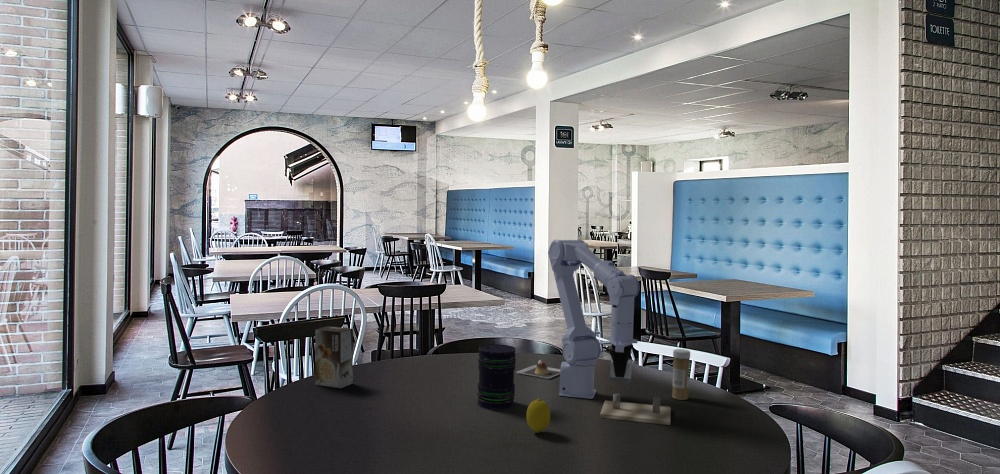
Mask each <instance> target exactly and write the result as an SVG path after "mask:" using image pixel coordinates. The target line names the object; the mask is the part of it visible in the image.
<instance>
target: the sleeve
mask: <svg viewBox="0 0 1000 474" xmlns="http://www.w3.org/2000/svg"><path fill="white" fill-rule="evenodd" d="M632 361H633V360H632V359H630V358H629V359H628V361H627V365H626V371H625V375H624V378H621V377H616V376H615V372H614V365H613V360H612V359H611V361H610V373H609V374H610V376H609V379H610V381H609V382H611V383H619V384H620V383H621V384H631V381H632V363H633V362H632Z"/></svg>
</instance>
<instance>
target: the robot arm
mask: <svg viewBox="0 0 1000 474" xmlns="http://www.w3.org/2000/svg"><path fill="white" fill-rule="evenodd" d="M547 255H548V258H549V263H550V266H551V270H552V272H553V276H554V280H555V284H556V289H557V292H558V296H559V300H560V304H561V309H562V312H563V316H564V320H565V326H566V329H567V331H566V332H565V334H564V335H562V338H561V343H562V351H561V352H562V356H563V358H564V360H565V361H562V362H561V365H560V368H559V369H560V372H559V373H560V374H559V391H558V392H559V394H558V396H560V397H570V398H581V399H588V400H589V399H590V400H591V399H594V398H595V395H596V393H597V390H596V389H595V388H594V387H595V385H594V384H595V383H594V382H595V364H597V362H598V361H597V360H598V359H600V357H601V355H602V345H601V343H600V341H599V340H598V337H597V336H596V332H595V331H594V330H592V329H591V328H590V327H588V326H587V323H586V320H585V317H584V313H583V308H582V305H581V301H580V297H579V293H578V289H577V285H576V282H575V277H574V274H575V272H576V271H577V270H579V268H580V266H581V265H582V264H583V265H584V266H586V267H587V268H589V269H590V270H591V271H592V272H593V276H594V278H595V279H596V280H598V282H599V283H600V284H602V285H603V286H604V287H605V288H606V292H607V294H608V296H609V303H610V305H611V308H610V309H611V311H610V314H611V315H610V337H609V343H610V346H611V348H610V347H609V349H608V353H609V355H610V357H611V360H613V365H614V372H615V376H616V377H621V378H624V375H625V371H626V365H627V361H628V359H630V357H631V354H632V349H633V348H634V344H638V339H635V338H634V319H635V318H634V315H635V298H636V297H637V296H638V295H639V292H640V290H641V289H640V282H639V280H638V278H637V277H636V276H635V275H633V274H628V275H627V274H625V273H624V271H623V270H622V269H621V270H620V269H619V268H618V267H617V266H616V265H614V262H613V261H612V260H601V259H600V258H599V256H597V255H596V254H595V253H594V251H592V250H591V249H590V248H589V244H588V242H585V241H584V240H583V239H570V240H569V239H553V240H552V241H551V243H550V246H549V248H548V250H547Z"/></svg>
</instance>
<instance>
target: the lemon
mask: <svg viewBox="0 0 1000 474" xmlns="http://www.w3.org/2000/svg"><path fill="white" fill-rule="evenodd" d="M525 417H526V423H527V425H528V427H529V428H530V429H532V430H534V432H536V433H537V434H539V433H541V431H544V430H545V429H546V428H548V426H549V425H550V422H551V409H550V407H549V404H547V402H546V401H544V400H542V399H541V398H537V399H535V400H533V401H531V402H530V404H529V405H528V407H527V410H526V416H525Z"/></svg>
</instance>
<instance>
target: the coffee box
mask: <svg viewBox="0 0 1000 474" xmlns="http://www.w3.org/2000/svg"><path fill="white" fill-rule="evenodd" d="M314 335H315V336H314V337H315V339H314V340H315V345H314V346H315V347H314V348H315V351H314V352H315V353H314V356H315V359H314V361H315V363H314V364H315V365H314V368H315V369H314V370H315V371H314V372H315V374H314V375H315V378H314V379H315V380H314V381H315V382H314V385H316V386H320V387H321V386H322V387H328V388H338V389H343V388H345V387H347V386H350V385H352V384H353V383H354V382H353V381H354V380H353V377H354V376H353V373H354V372H353V371H354V370H353V369H354V368H353V361H354V360H353V359H354V357H353V355H354V351H353V350H354V328H349V327H340V326H330V325H327V326H323V327H320V328H317V329H315V333H314Z"/></svg>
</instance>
